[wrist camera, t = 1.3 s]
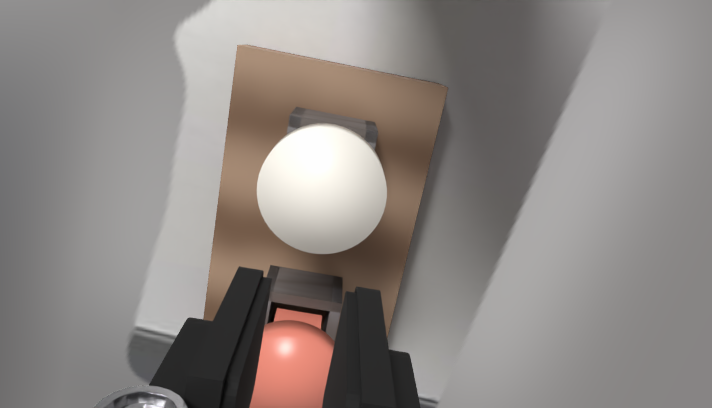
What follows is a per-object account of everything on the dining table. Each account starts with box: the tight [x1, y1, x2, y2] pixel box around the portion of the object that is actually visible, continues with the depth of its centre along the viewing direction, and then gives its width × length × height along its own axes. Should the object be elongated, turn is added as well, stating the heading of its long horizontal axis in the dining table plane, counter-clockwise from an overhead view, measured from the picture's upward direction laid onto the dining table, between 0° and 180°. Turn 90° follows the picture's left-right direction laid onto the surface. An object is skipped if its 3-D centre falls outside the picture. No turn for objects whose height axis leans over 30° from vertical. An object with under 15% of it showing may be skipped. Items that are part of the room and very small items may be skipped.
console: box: [203, 45, 448, 342], centre depth 32 cm, size 20×12×6 cm, turn 169°
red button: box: [249, 308, 335, 408], centre depth 28 cm, size 6×6×5 cm
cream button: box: [257, 123, 387, 254], centre depth 25 cm, size 6×6×5 cm
